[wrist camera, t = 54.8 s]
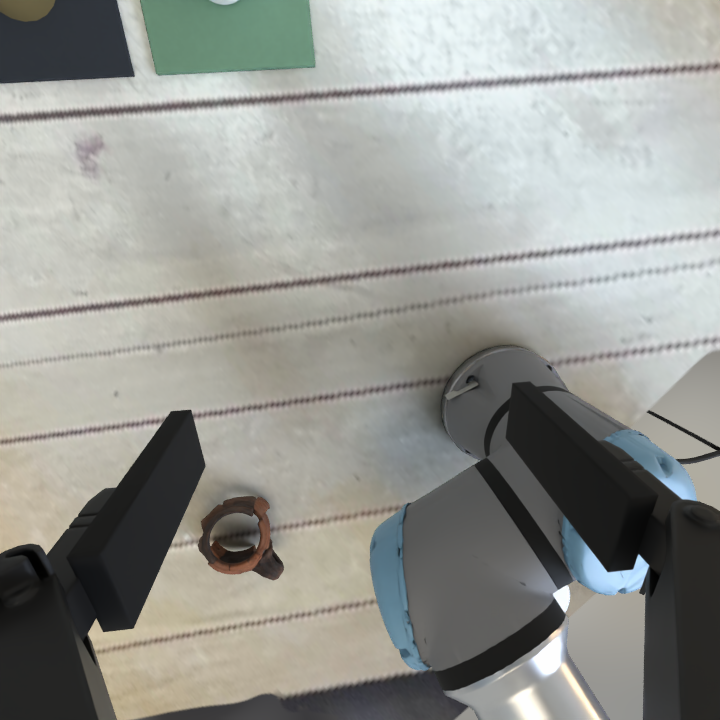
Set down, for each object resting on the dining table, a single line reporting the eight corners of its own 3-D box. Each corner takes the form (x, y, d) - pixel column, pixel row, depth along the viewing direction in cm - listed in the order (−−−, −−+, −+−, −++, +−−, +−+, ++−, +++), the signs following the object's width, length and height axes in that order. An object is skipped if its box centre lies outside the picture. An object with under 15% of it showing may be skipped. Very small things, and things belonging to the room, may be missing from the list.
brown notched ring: (191, 536, 50) (174, 553, 42) (238, 474, 53) (231, 480, 45) (264, 588, 51) (261, 615, 43) (307, 525, 53) (312, 540, 45)
